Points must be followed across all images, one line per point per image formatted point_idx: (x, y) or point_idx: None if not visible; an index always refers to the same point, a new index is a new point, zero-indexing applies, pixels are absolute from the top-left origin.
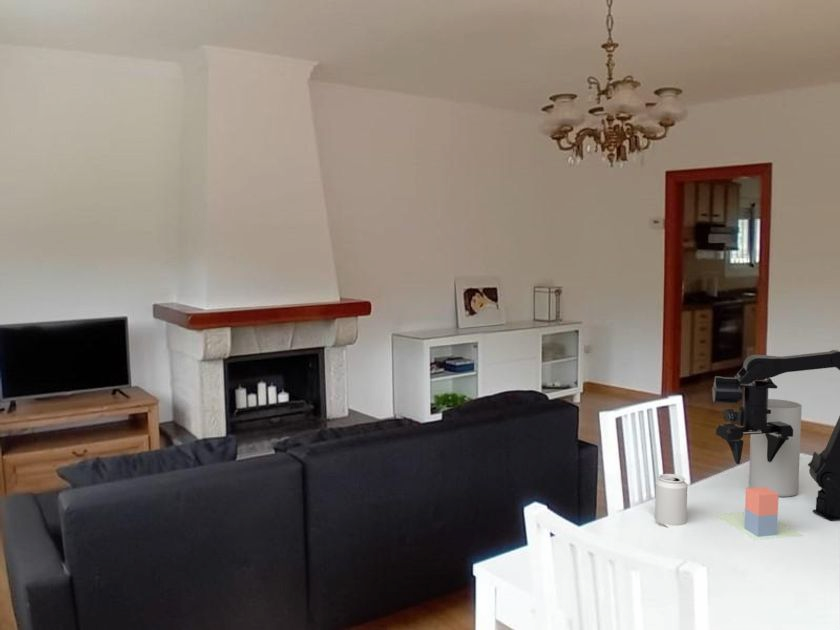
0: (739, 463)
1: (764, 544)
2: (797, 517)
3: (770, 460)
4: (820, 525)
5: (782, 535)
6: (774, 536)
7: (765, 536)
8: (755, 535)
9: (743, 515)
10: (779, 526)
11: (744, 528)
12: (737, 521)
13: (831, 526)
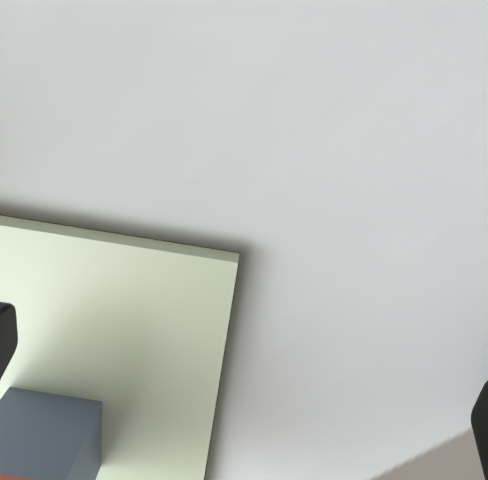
0: (10, 357)
1: None
2: (392, 336)
3: (477, 443)
4: (397, 425)
5: (120, 473)
6: None
7: None
8: None
9: (103, 278)
10: (177, 419)
11: (9, 387)
12: (24, 324)
13: (430, 445)
